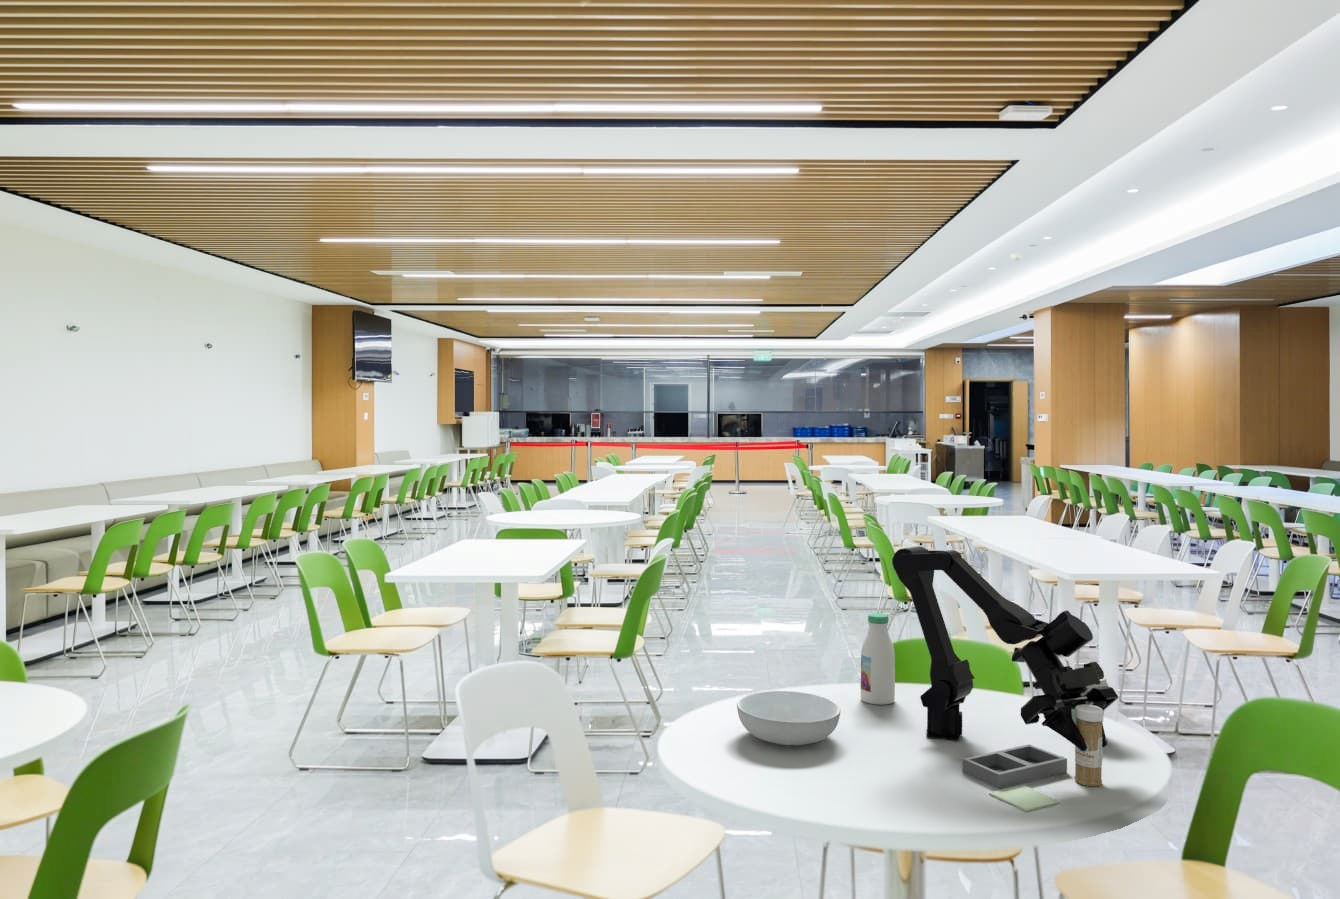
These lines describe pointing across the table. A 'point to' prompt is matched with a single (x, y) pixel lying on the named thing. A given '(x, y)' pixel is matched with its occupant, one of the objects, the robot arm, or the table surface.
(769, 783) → the table surface
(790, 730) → the serving bowl
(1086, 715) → the sprinkles bottle
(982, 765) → the tray
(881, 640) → the milk bottle
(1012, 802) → the pad
